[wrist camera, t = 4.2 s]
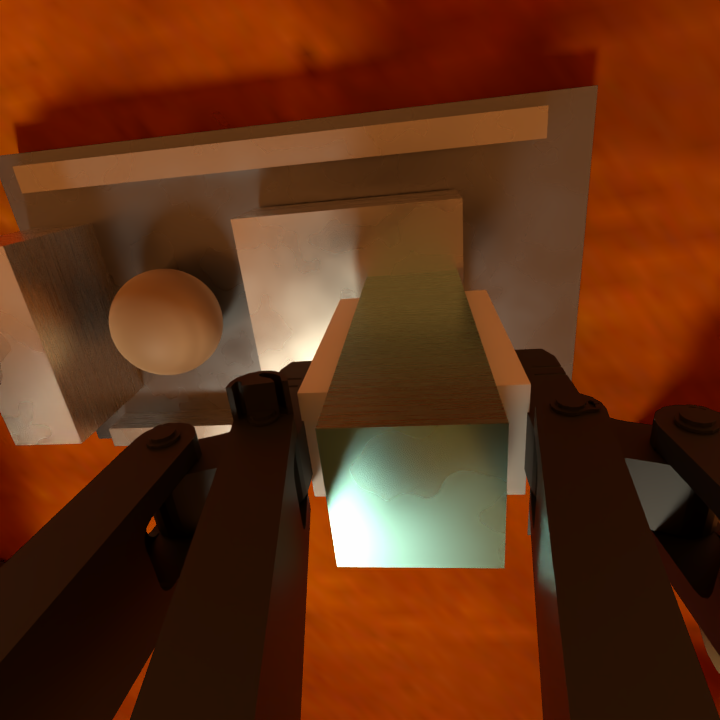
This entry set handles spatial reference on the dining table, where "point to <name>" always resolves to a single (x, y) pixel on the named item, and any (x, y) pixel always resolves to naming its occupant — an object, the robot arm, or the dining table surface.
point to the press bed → (219, 254)
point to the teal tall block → (387, 373)
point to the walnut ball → (165, 321)
